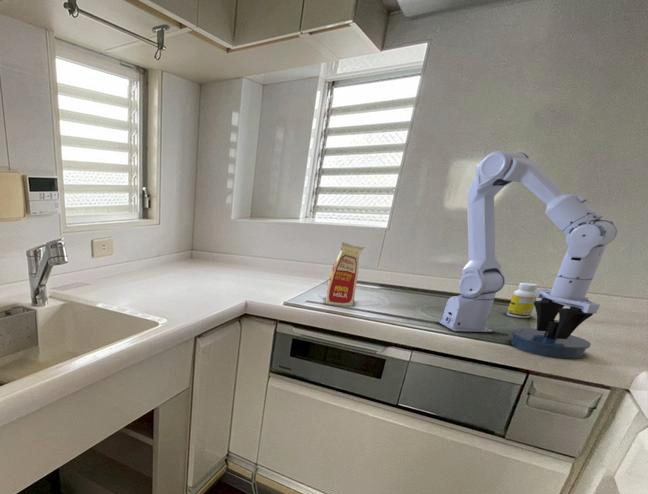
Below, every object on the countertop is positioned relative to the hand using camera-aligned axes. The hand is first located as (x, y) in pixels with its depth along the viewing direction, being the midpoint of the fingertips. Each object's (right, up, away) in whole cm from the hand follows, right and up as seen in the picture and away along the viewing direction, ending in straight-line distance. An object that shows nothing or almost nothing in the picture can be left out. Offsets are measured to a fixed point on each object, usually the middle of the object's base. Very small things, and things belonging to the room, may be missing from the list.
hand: (551, 334), depth 95 cm
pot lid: (0, -1, 0) cm, 1 cm away
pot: (0, -3, +1) cm, 4 cm away
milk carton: (-30, +14, +43) cm, 54 cm away
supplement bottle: (+16, +7, +27) cm, 32 cm away
